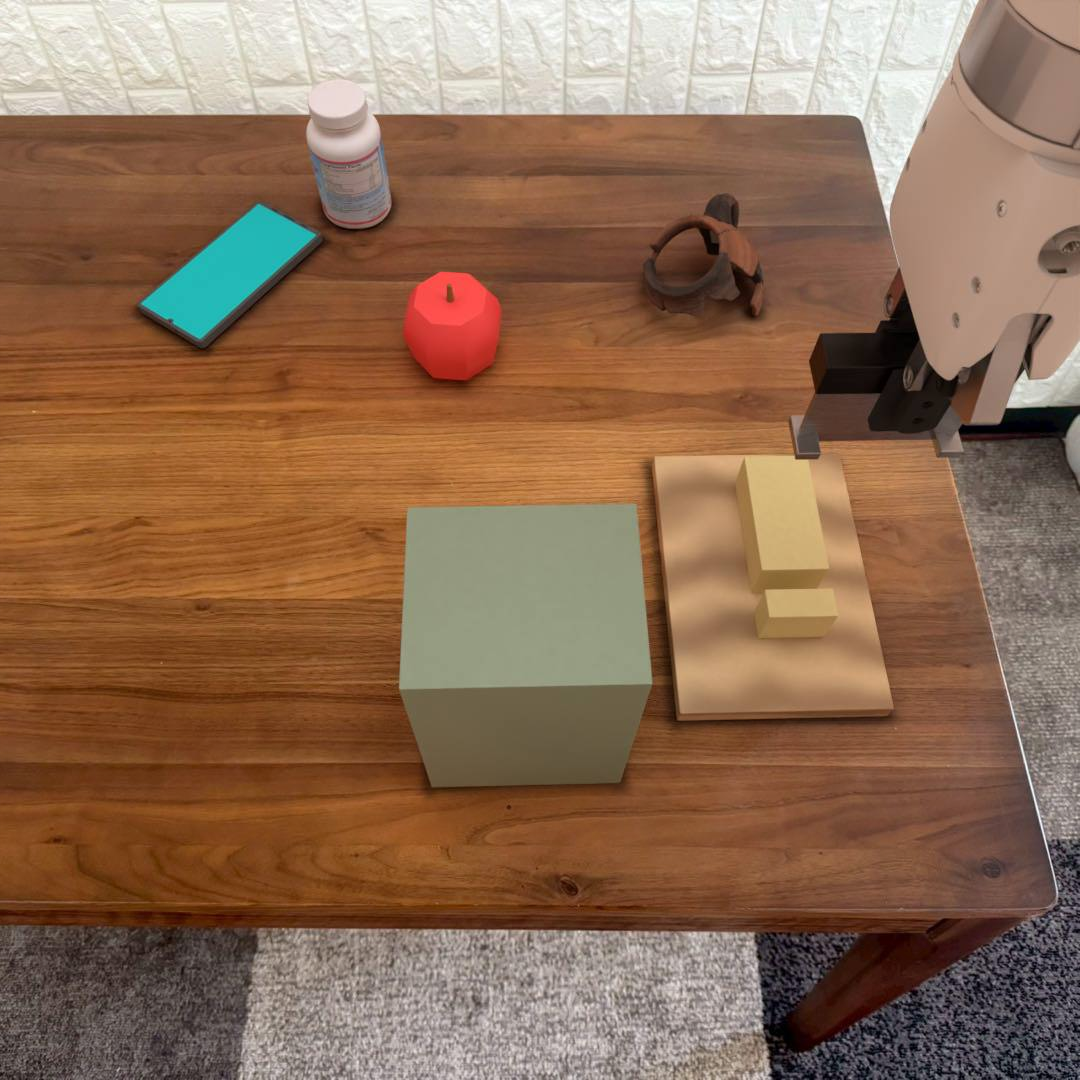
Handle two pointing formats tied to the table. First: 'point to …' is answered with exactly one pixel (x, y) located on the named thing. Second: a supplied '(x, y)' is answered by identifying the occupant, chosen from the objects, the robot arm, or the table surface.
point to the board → (728, 605)
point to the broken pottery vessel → (720, 241)
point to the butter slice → (795, 613)
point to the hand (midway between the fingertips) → (894, 400)
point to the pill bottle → (347, 155)
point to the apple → (452, 325)
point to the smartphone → (230, 273)
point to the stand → (524, 642)
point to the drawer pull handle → (861, 393)
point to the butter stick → (780, 524)
